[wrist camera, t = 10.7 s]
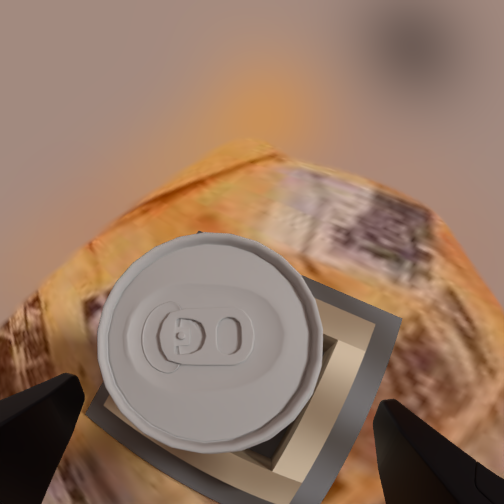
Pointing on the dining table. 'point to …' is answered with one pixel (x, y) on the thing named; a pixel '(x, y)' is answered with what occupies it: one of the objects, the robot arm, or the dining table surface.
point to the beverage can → (210, 343)
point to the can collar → (297, 432)
